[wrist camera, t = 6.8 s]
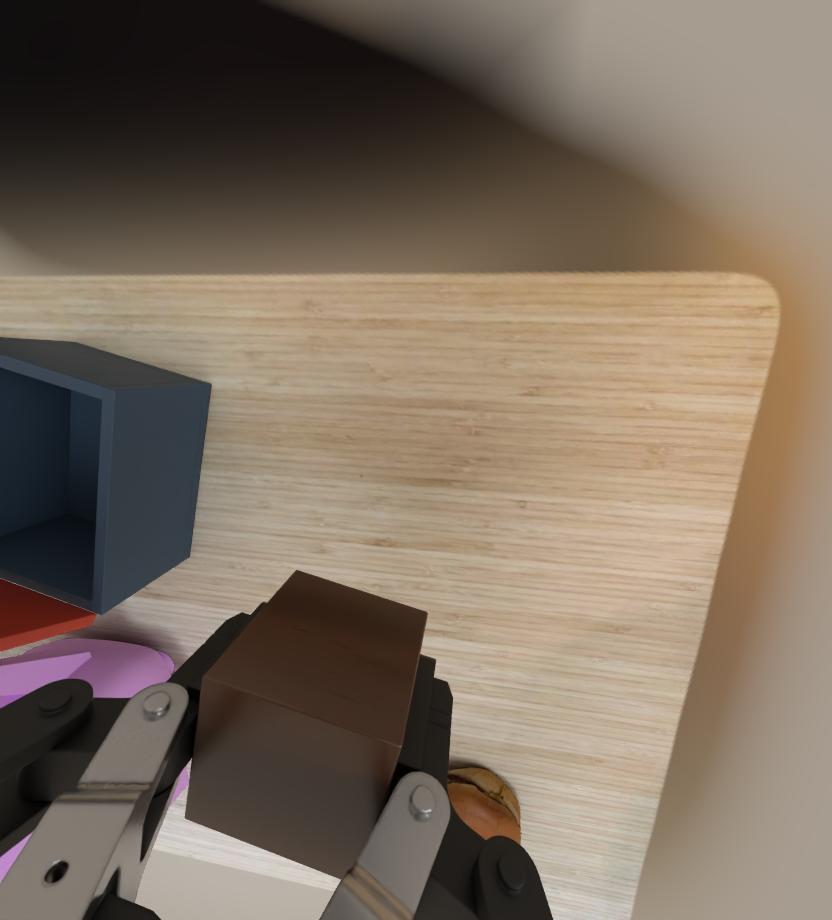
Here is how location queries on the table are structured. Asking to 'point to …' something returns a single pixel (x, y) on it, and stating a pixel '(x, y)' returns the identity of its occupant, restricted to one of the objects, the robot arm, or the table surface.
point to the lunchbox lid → (35, 616)
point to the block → (306, 722)
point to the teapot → (91, 660)
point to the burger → (484, 802)
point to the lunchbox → (95, 470)
